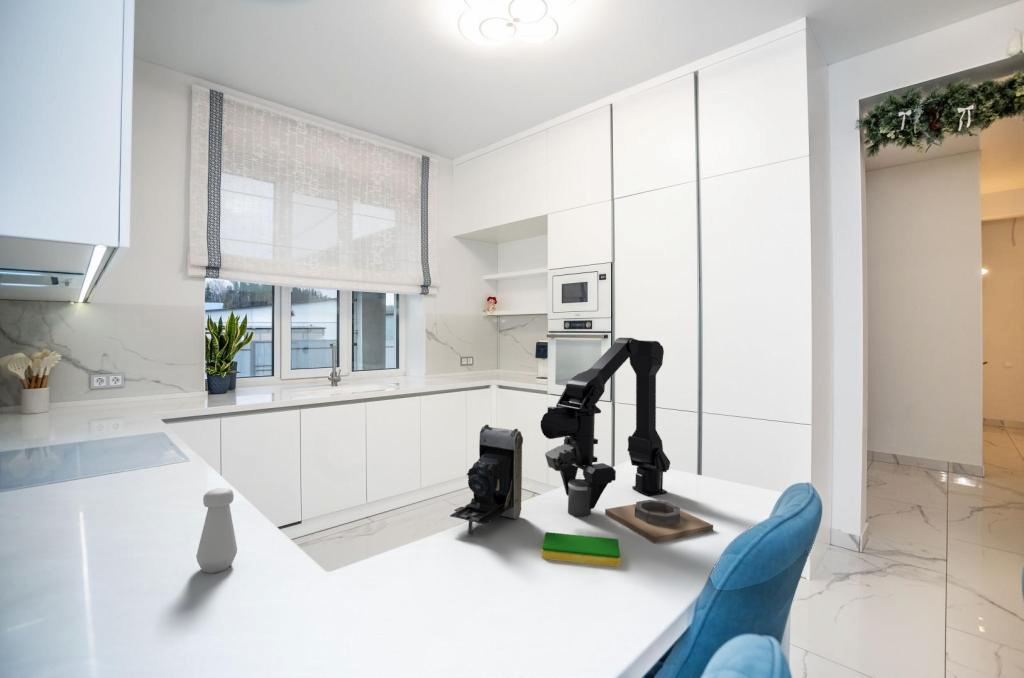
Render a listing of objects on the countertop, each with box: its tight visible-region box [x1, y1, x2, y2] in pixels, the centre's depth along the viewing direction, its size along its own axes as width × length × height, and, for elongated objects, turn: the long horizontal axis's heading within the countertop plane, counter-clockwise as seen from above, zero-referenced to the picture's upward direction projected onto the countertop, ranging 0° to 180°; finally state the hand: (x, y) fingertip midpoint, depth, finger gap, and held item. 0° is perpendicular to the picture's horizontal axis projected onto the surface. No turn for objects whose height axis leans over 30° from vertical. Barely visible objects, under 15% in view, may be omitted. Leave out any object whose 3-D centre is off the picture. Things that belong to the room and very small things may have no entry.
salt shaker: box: [195, 487, 238, 574], centre depth 78 cm, size 6×6×13 cm
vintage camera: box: [449, 424, 524, 536], centre depth 99 cm, size 10×16×20 cm, turn 152°
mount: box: [604, 499, 714, 544], centre depth 103 cm, size 16×16×3 cm
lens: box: [567, 478, 592, 518], centre depth 107 cm, size 5×5×7 cm
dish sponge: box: [541, 531, 621, 568], centre depth 87 cm, size 7×14×2 cm, turn 80°
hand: (579, 501), depth 107 cm, fingers open, 9 cm apart
